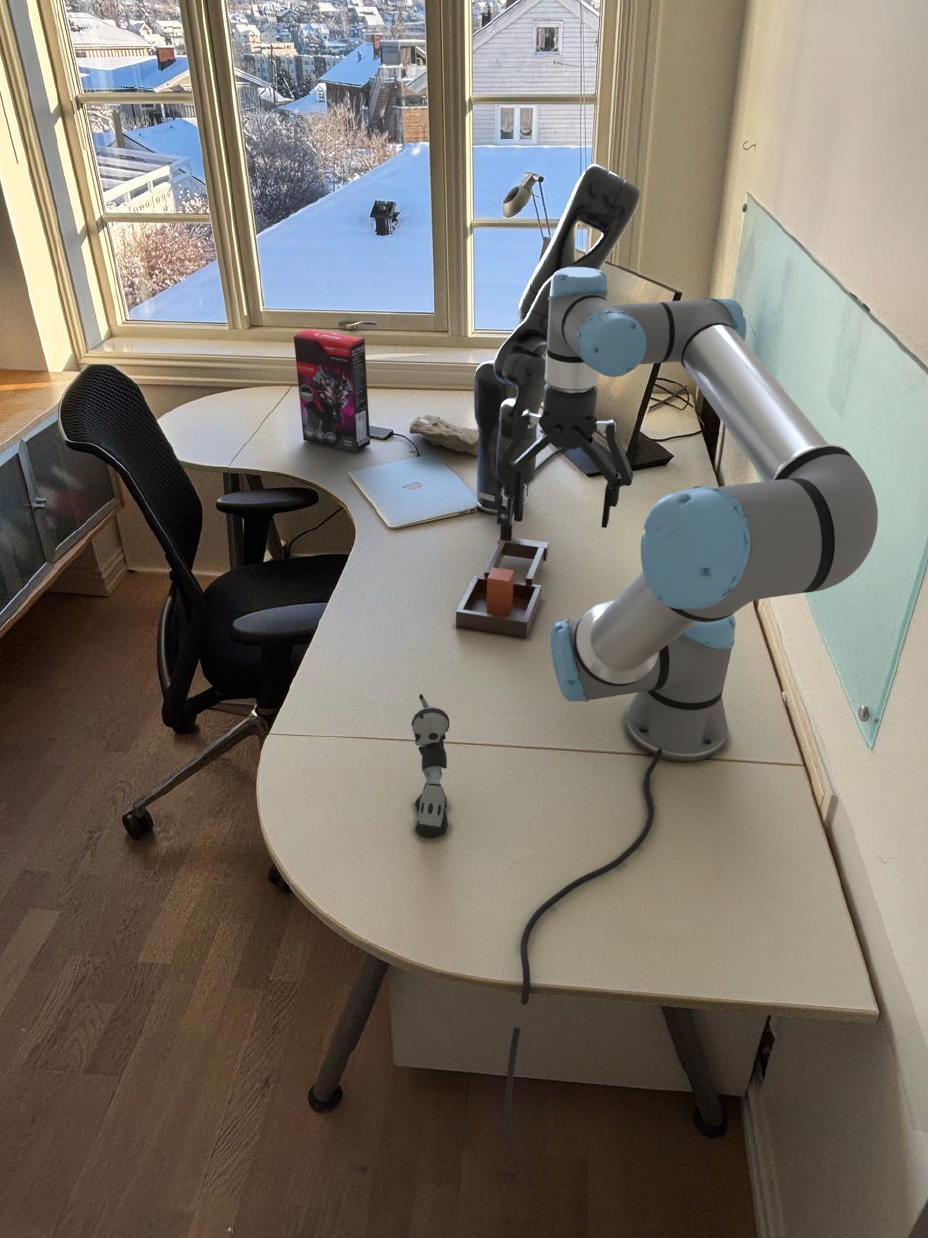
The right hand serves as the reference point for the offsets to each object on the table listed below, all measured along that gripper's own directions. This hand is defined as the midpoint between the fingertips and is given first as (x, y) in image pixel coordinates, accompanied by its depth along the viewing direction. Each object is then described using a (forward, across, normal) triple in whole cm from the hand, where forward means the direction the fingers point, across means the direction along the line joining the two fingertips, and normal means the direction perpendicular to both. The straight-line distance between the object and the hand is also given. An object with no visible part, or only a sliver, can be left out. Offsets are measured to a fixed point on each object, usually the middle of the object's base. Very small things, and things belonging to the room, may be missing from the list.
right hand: (561, 518), depth 142 cm
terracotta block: (+27, +12, -12) cm, 32 cm away
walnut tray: (+28, +12, -19) cm, 36 cm away
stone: (+28, +43, -84) cm, 98 cm away
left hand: (+21, +14, -32) cm, 41 cm away
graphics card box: (+28, +70, -77) cm, 108 cm away
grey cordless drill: (+28, +9, +40) cm, 49 cm away
